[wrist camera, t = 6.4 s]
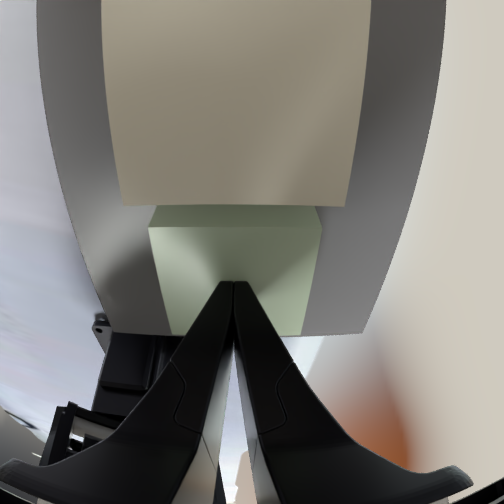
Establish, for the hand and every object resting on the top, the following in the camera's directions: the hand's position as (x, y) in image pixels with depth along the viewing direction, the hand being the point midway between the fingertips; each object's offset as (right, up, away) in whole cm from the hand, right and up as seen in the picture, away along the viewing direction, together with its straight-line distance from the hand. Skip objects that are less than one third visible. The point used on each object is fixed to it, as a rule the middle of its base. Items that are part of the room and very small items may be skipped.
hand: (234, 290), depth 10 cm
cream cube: (0, +7, -1) cm, 7 cm away
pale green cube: (0, +3, +4) cm, 5 cm away
